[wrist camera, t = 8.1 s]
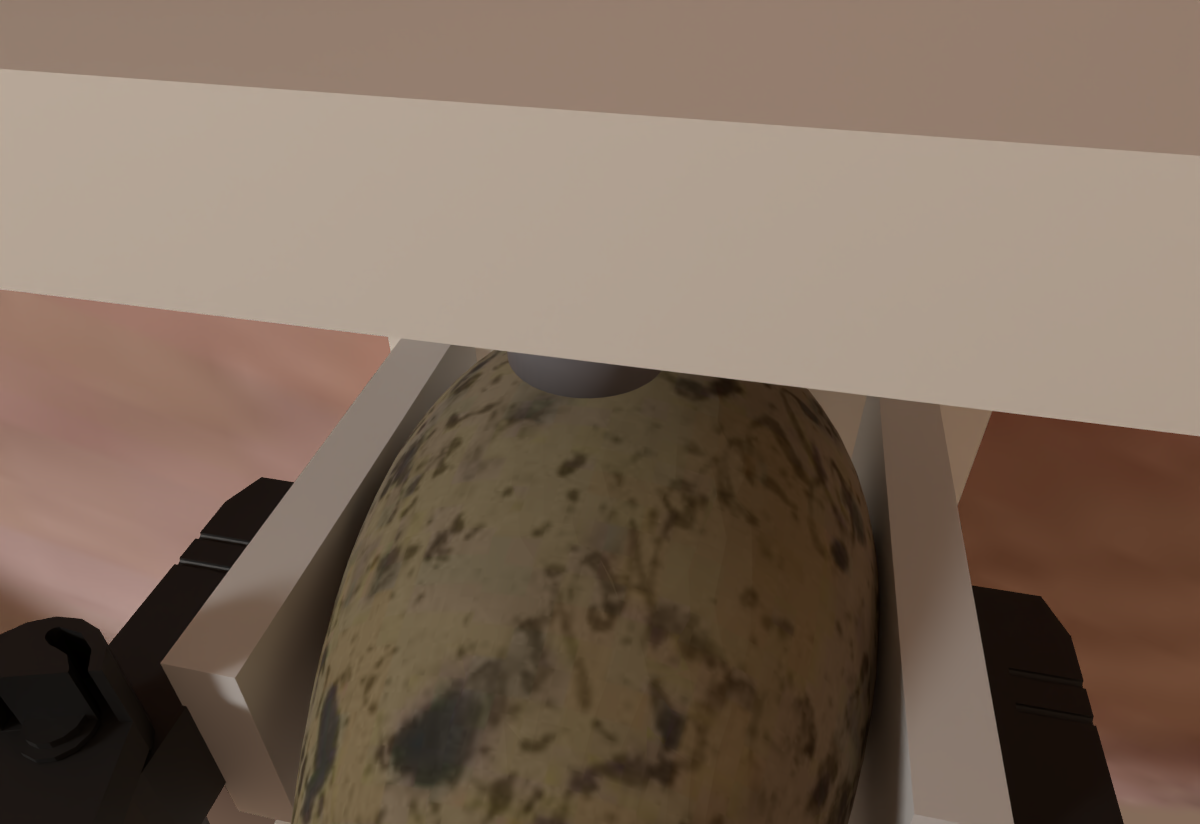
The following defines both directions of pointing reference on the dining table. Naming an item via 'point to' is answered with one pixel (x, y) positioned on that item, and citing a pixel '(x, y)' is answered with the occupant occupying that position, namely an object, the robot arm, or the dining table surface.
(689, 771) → the decorative egg
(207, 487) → the dining table surface
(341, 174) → the holder
